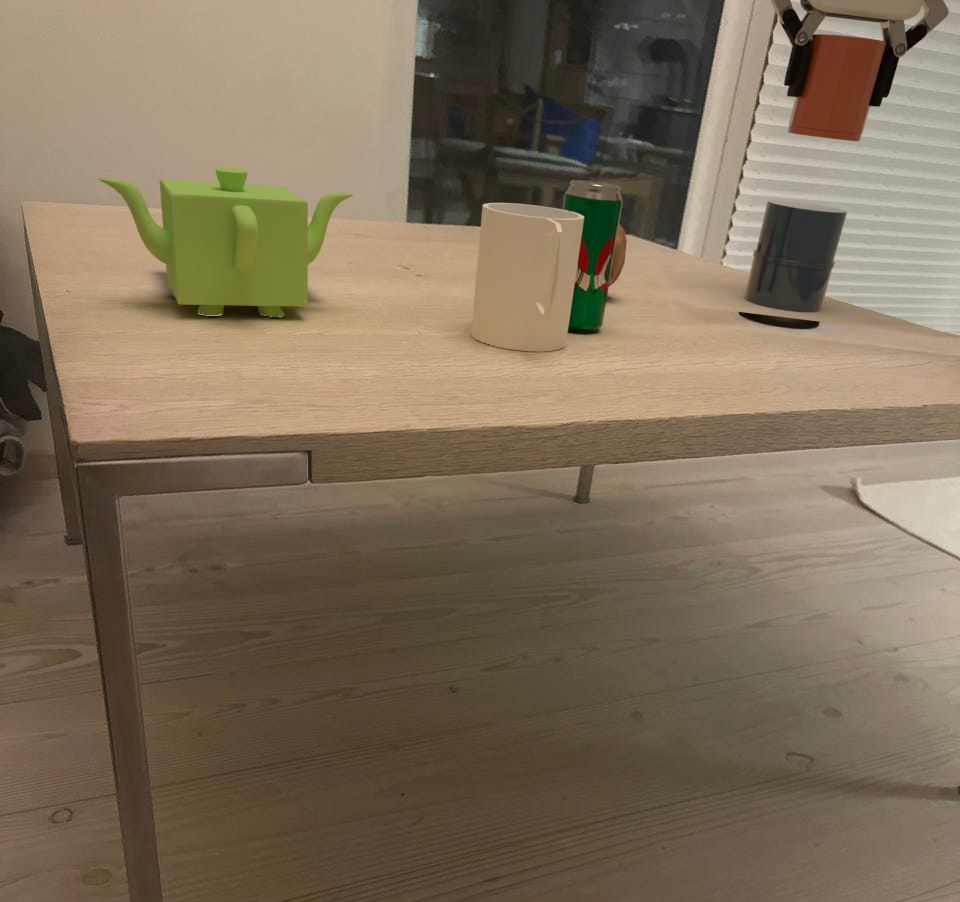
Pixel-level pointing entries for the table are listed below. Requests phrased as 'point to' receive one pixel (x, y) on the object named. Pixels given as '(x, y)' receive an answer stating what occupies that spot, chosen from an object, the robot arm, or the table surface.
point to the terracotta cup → (837, 87)
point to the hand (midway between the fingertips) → (833, 99)
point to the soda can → (593, 250)
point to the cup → (525, 276)
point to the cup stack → (793, 261)
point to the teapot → (232, 240)
